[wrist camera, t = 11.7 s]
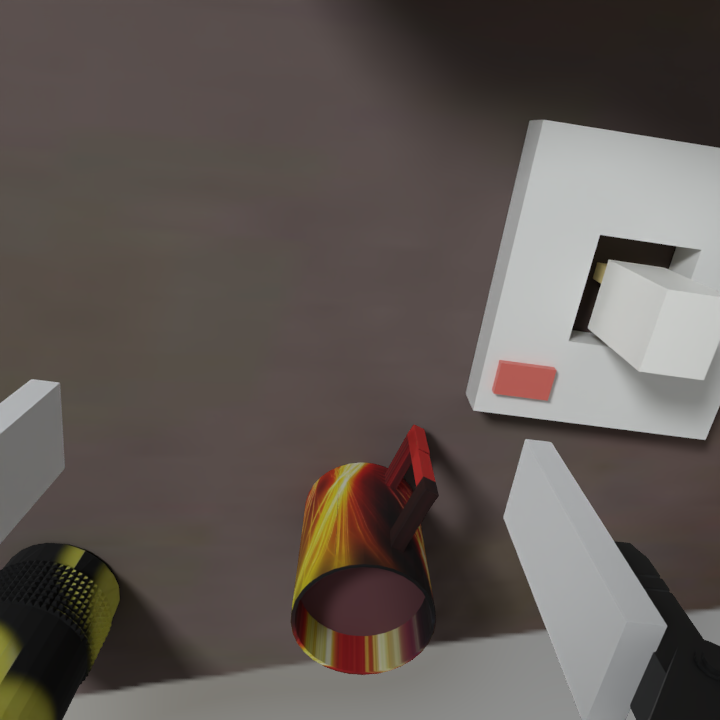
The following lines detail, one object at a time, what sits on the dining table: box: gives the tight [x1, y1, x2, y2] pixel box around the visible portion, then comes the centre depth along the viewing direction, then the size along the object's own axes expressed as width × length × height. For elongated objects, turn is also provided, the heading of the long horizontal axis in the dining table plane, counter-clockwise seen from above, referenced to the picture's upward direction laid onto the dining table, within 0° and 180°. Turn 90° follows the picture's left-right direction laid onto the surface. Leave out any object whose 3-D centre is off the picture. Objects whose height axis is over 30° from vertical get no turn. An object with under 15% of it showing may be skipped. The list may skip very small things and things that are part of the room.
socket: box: [466, 120, 720, 440], centre depth 40 cm, size 20×18×4 cm
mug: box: [291, 425, 439, 675], centre depth 43 cm, size 10×14×12 cm
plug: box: [588, 260, 720, 380], centre depth 38 cm, size 5×4×10 cm
